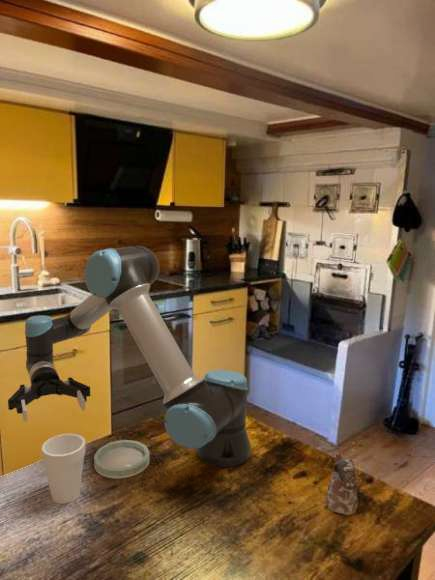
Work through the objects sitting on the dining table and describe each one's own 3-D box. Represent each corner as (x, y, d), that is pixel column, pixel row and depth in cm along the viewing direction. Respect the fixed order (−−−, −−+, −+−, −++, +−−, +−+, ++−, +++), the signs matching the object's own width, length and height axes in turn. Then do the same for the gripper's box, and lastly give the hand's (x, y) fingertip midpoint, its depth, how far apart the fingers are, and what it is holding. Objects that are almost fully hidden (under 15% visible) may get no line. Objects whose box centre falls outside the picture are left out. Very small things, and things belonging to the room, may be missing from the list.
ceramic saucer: (160, 459, 116) (160, 452, 116) (119, 486, 105) (119, 478, 104) (124, 440, 124) (124, 434, 124) (82, 463, 113) (82, 456, 113)
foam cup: (73, 511, 96) (71, 459, 93) (36, 505, 97) (33, 453, 95) (94, 485, 105) (92, 436, 102) (59, 479, 107) (57, 431, 104)
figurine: (339, 518, 96) (344, 470, 94) (319, 498, 102) (323, 453, 100) (363, 509, 99) (368, 462, 97) (342, 491, 105) (347, 446, 103)
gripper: (88, 383, 131) (106, 414, 113) (-4, 398, 120) (-1, 435, 101) (88, 360, 130) (105, 388, 112) (-5, 372, 118) (-3, 406, 100)
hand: (55, 410), depth 106 cm, fingers open, 13 cm apart
